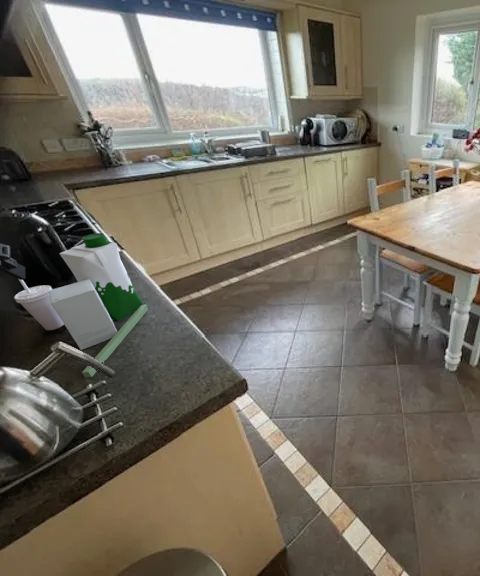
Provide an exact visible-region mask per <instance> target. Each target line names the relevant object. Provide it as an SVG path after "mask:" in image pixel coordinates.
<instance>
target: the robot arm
mask: <svg viewBox="0 0 480 576" xmlns="http://www.w3.org/2000/svg"><path fill="white" fill-rule="evenodd" d="M0 272H1V273H2V272H3V273H4V274H6V275H9V276H11V277H13V278H15V279H17V280H18V279H20V280H23V281H24V280H26V266H24V265H22V264H20V263H18V262H17V259H14V258H12V257H11V246H10V245H7V244H3V243H0Z"/></svg>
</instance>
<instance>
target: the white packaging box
mask: <svg viewBox="0 0 480 576" xmlns="http://www.w3.org/2000/svg"><path fill="white" fill-rule="evenodd" d="M52 289H53V290H50V291H48V292H49V297H50V301H51V305H52V306H53V308H54V309H55V311H56V312H57V314H58V315H59V317H60V319H61V320H62V322H63V323H64V325H63V326H65V328H66V330H67V331H68V333H69V334H70V335H71V338H72V339H73V340H74V343H76V345H77V347H78V348H79V350H80V351H82V350H85V349H87V348H90V347H93V346H96V345H99V344H101V343H104V342H106V341H108V340H109V341H110V340H111V339H112V338H113V337H114V336H115V334H116V333H117V332H118V329H117V328H116V326H115V323H114V320H112V319H111V317H110V315H109V314H108V312H107V310H106V308H105V306H104V304H103V302H102V301H101V299H100V297H99V295H98V293H97V291H96V290H95V288H94V286H93V284H92V283H91V281H90V279H87V280H83V281H80V282H78V281H77V282H73V283H71V284H68V285H64V286H61V287H56V288H52Z"/></svg>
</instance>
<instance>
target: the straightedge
mask: <svg viewBox="0 0 480 576" xmlns="http://www.w3.org/2000/svg"><path fill="white" fill-rule="evenodd" d="M148 311H149V307H148V305H147V304H143V305H141V306H140V307H139V308H138V310H136V311H135V312H133V313H132V315H131V316H130V317H129V319H128V320H127V321H126V322H125V323H124V324H123V325H122V326H121V328H120V329H119V330H117V333H116V334H115V336H114V337H113V338H111V339H109V341H108V343H107V344H105V345H104V347H103V348H102V349H101V350H100V351H99V353H97V355H96V356H94V358H95V359H97V360H99V361H100V362H103V364H104V363H105V362H106V361H107V360H108V358H109V357H110V356H111V355H112V354H113V352H115V350H116V349H117V348H118V347H119V345H120V344H121V343H122V342H123V340H124V339H126V337H127V335H129V333H130V332H131V331H132V329H134V327H135V326H136V325H137V323H138V322H139V321H140V320H141V319H142V318H143V316H144V315H145V314H146V313H147V312H148ZM105 360H106V361H105ZM104 361H105V362H104ZM97 372H98V370H97V371H96V370H95V369H94V368H92V367H91V366H88V365H87V366H86V367H85V368H84V369H83V370H82V371H81V373H82V375H83V376H84V378H85V379H87V378H88V379H89V378H93V376H94V375H95V374H96V373H97Z"/></svg>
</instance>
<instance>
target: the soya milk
mask: <svg viewBox="0 0 480 576" xmlns="http://www.w3.org/2000/svg"><path fill="white" fill-rule="evenodd" d="M82 240H83V243H82V244H78V245H76V246H73V247H70V249H67V250H64V251H61V252H60V253H58V254H59V255H60V257H61V258H62V259H63V261H64V263H65V264H66V265H67V267H68V268H69V270H70V271H71V273H72V274H73V276H74V278H75V279H76V281H77V282H80V281H83V280H87V279H90V281H91V283H92V284H93V286H94V288H95V290H96V291H97V293H98V295H99V297H100V299H101V301H102V302H103V304H104V306H105V308H106V310H107V312H108V314H109V315H110V317H111V319H112V321H116V322H120V321H122V320H123V319H124V318H126V317H128V316H129V315H131V314H134V313H135V312H136V311H137V310H138V308H139V307H140V306H141V305H144V303H143V301H142V299H141V297H140V295H139V294H138V291H137V290H136V287H134V284H133V282H132V280H131V277H130V275H129V274H128V272H127V270H126V268H125V265H124V264H123V261H122V259H121V256H120V252H119V248H118V247H119V246H118V243H117V242H112V241H109V240H108V239H107V238H106V236H105V234H104V232H103V233H101V232H97V233H91V234H88V235H85V236H83V237H82Z"/></svg>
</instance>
